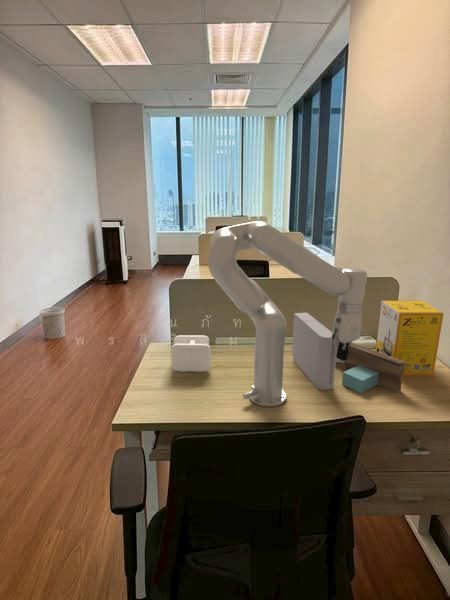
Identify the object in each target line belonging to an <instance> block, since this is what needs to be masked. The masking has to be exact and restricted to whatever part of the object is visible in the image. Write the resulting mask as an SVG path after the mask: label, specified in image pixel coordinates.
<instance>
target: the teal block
mask: <svg viewBox="0 0 450 600" xmlns="http://www.w3.org/2000/svg"><path fill="white" fill-rule="evenodd" d="M378 376H379V373H378V372H376V371H373V370H371V369H368V368H366V367H363V366H361V365H358V366H356V367H354V368H351V369H349V370H347V371H345V370H344V371H343V372H342V378H341V380H342V381H341V385H343V386H345V387H347V388H350V389H351V390H354V391H356V392H358V393H360V394H362V393H363V392H366V391H368V390H371V389H372V388H373V387H376V386H378Z"/></svg>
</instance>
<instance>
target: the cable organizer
mask: <svg viewBox="0 0 450 600" xmlns="http://www.w3.org/2000/svg"><path fill="white" fill-rule="evenodd" d="M170 350H171V351H170V352H171V357H170V358H171V368H172V370H173V371H176V372H179V373H187V372H195V373H203V372H208V371H209V370H210V369H211V361H212V360H211V358H212V357H211V346H210V338H209V336H207V335H204V334H202V335H200V334H199V335H194V334H193V335H188V334H187V335H186V334H185V335H182V334H181V335H180V334H179V335H176V336H175V337H174V338H173V344H172V346H171V349H170Z"/></svg>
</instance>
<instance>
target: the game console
mask: <svg viewBox="0 0 450 600" xmlns="http://www.w3.org/2000/svg"><path fill="white" fill-rule="evenodd" d="M292 329H293V331H292V332H293V333H292V345H291V346H292V348H291V353H292V359H293V361H294V362H295V364H296V365H297V366H298V367H299V369H300V370H301V371H302V373H304V374H305V376H306V377H307V378H308V379H309V380H310V381H311V383H312V384H313V385H314V386H315V388H316V389H317V390H320V391H322V390H323V391H324V390H334V387H335V374H336V366H337V365H336V355H337V346H336V345H333V341H334V339H332V330H330V329H329V328H327V327H326V326H325V325H324V324H322V323H321V322H319V320H317V319H316V318H315V317H314V316H312V315H310V313H308V312H296V313H295V312H294V313H293V327H292Z"/></svg>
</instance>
